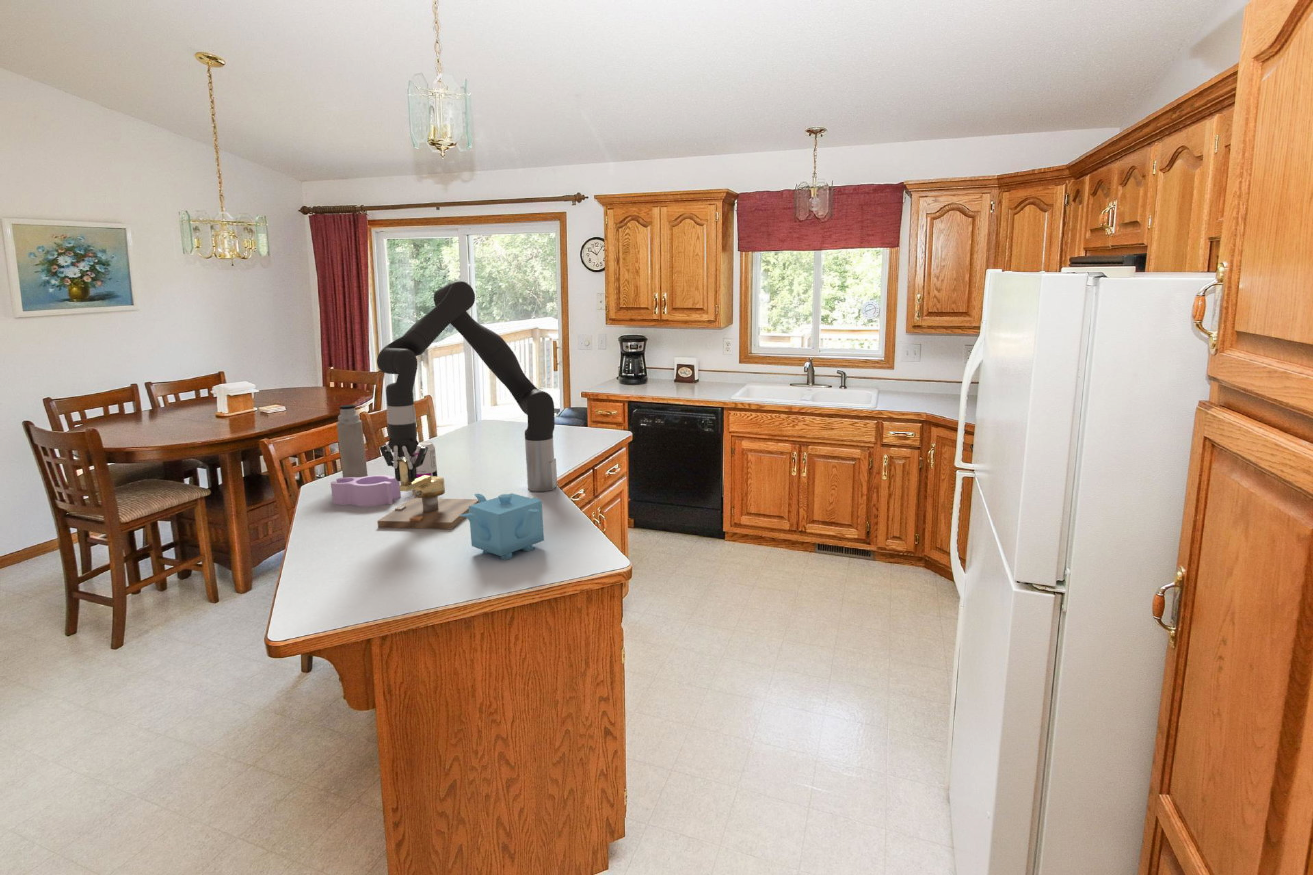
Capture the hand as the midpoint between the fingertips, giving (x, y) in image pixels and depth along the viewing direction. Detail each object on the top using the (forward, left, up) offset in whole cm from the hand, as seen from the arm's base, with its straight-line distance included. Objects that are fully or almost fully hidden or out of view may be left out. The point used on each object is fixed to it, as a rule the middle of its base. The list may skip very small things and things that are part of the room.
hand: (406, 480), depth 201 cm
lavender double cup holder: (+26, -24, -14) cm, 38 cm away
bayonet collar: (-1, -7, -7) cm, 10 cm away
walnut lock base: (-2, -10, -14) cm, 17 cm away
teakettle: (-34, +17, -14) cm, 40 cm away
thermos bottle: (+40, -42, -14) cm, 60 cm away
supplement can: (+14, -41, -14) cm, 45 cm away
